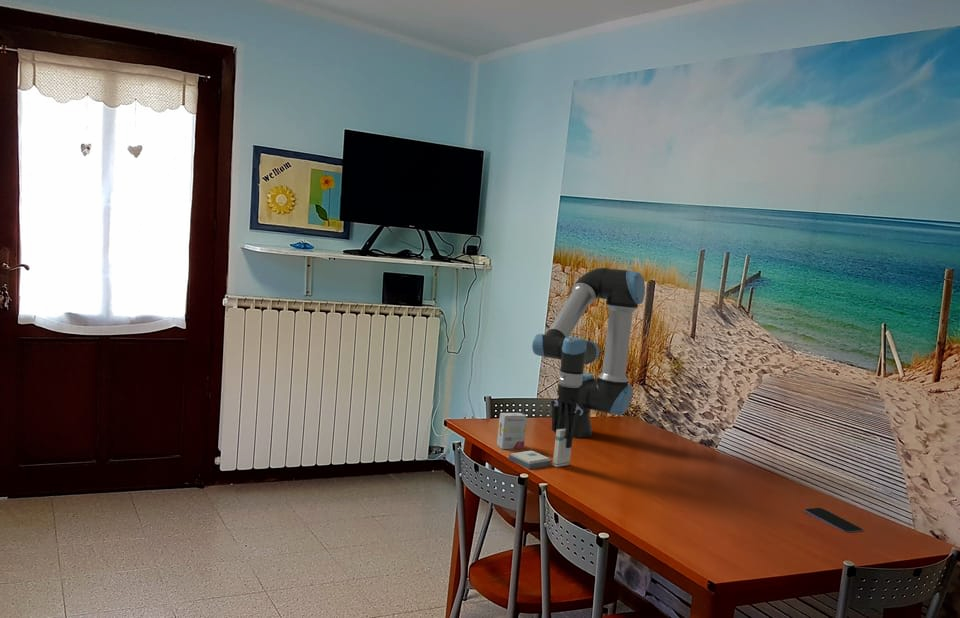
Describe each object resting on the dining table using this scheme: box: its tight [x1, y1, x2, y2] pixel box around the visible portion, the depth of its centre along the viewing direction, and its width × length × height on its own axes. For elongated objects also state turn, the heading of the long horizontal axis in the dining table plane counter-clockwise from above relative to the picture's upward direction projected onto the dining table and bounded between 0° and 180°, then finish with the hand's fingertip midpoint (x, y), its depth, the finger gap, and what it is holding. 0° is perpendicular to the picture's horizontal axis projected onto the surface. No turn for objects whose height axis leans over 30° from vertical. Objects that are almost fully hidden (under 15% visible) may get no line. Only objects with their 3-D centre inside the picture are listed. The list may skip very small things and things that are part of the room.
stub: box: [552, 428, 572, 468], centre depth 230 cm, size 6×2×12 cm, turn 128°
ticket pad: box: [508, 450, 553, 470], centre depth 230 cm, size 10×10×2 cm
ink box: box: [496, 412, 527, 450], centre depth 245 cm, size 9×5×12 cm, turn 112°
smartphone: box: [804, 507, 864, 534], centre depth 204 cm, size 7×1×15 cm
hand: (562, 455), depth 230 cm, fingers open, 2 cm apart
